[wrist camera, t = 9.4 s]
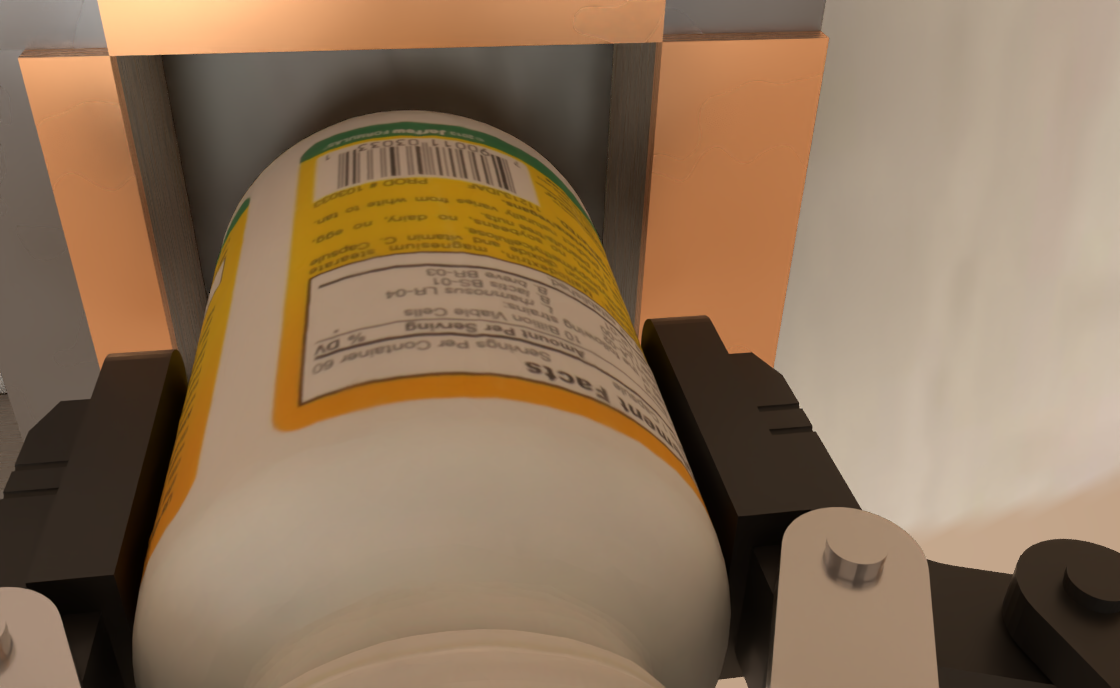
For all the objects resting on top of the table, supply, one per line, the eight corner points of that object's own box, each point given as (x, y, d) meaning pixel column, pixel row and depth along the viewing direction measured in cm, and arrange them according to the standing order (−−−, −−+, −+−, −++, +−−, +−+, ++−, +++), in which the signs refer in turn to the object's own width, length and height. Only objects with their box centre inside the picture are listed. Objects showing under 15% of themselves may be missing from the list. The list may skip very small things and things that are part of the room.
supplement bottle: (441, 15, 13) (580, 577, 5) (663, 297, 16) (973, 938, 8) (129, 261, 14) (-154, 1035, 6) (389, 484, 17) (420, 1209, 9)
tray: (-913, -147, 12) (-1216, -96, 10) (776, -143, 15) (853, -104, 12) (-460, 510, 17) (-585, 642, 15) (703, 418, 20) (748, 517, 18)
